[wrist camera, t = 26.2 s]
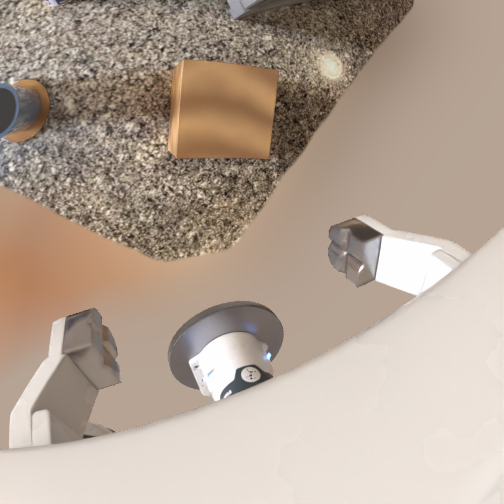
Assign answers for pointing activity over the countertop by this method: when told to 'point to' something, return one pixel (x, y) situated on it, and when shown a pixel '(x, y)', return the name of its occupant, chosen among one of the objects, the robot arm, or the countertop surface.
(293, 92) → the countertop surface
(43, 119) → the coaster
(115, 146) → the countertop surface
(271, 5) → the toaster
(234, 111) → the wood block
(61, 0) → the pill bottle
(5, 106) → the cup
